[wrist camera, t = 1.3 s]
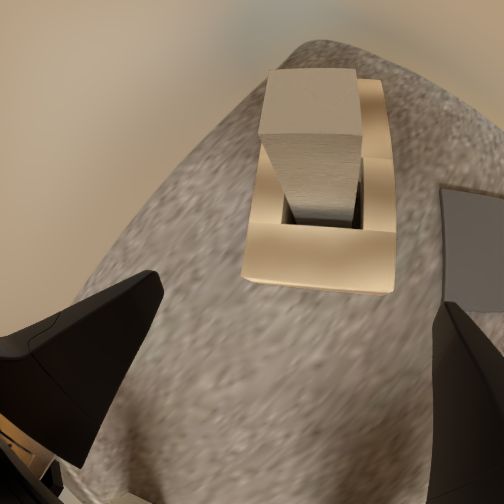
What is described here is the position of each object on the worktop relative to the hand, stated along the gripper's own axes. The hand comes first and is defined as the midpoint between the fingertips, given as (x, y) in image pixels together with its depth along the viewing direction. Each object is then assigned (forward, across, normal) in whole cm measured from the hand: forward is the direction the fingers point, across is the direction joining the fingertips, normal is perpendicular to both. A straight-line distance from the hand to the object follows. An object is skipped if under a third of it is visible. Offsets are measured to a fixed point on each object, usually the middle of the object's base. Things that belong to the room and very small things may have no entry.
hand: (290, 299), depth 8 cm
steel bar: (+15, 0, +4) cm, 16 cm away
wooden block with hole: (+17, 0, +2) cm, 17 cm away
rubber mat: (+14, -15, +6) cm, 21 cm away
